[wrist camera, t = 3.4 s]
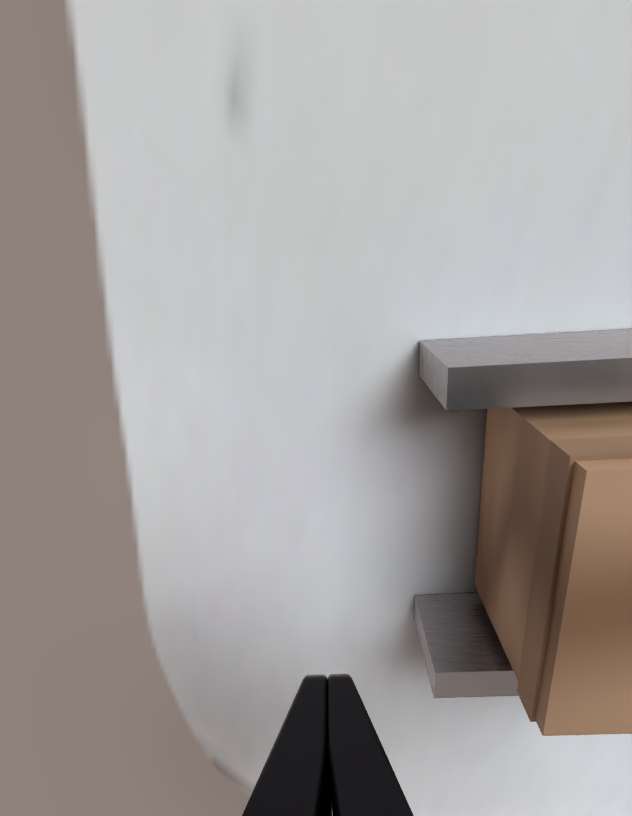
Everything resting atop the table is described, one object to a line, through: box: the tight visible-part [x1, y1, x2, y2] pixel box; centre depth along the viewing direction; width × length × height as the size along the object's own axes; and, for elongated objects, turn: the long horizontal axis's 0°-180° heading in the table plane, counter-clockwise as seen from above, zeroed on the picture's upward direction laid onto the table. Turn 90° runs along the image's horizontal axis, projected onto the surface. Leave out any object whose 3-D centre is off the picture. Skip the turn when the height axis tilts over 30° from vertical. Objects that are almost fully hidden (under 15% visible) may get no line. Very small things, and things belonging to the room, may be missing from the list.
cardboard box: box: [474, 402, 632, 736], centre depth 11 cm, size 7×6×5 cm
